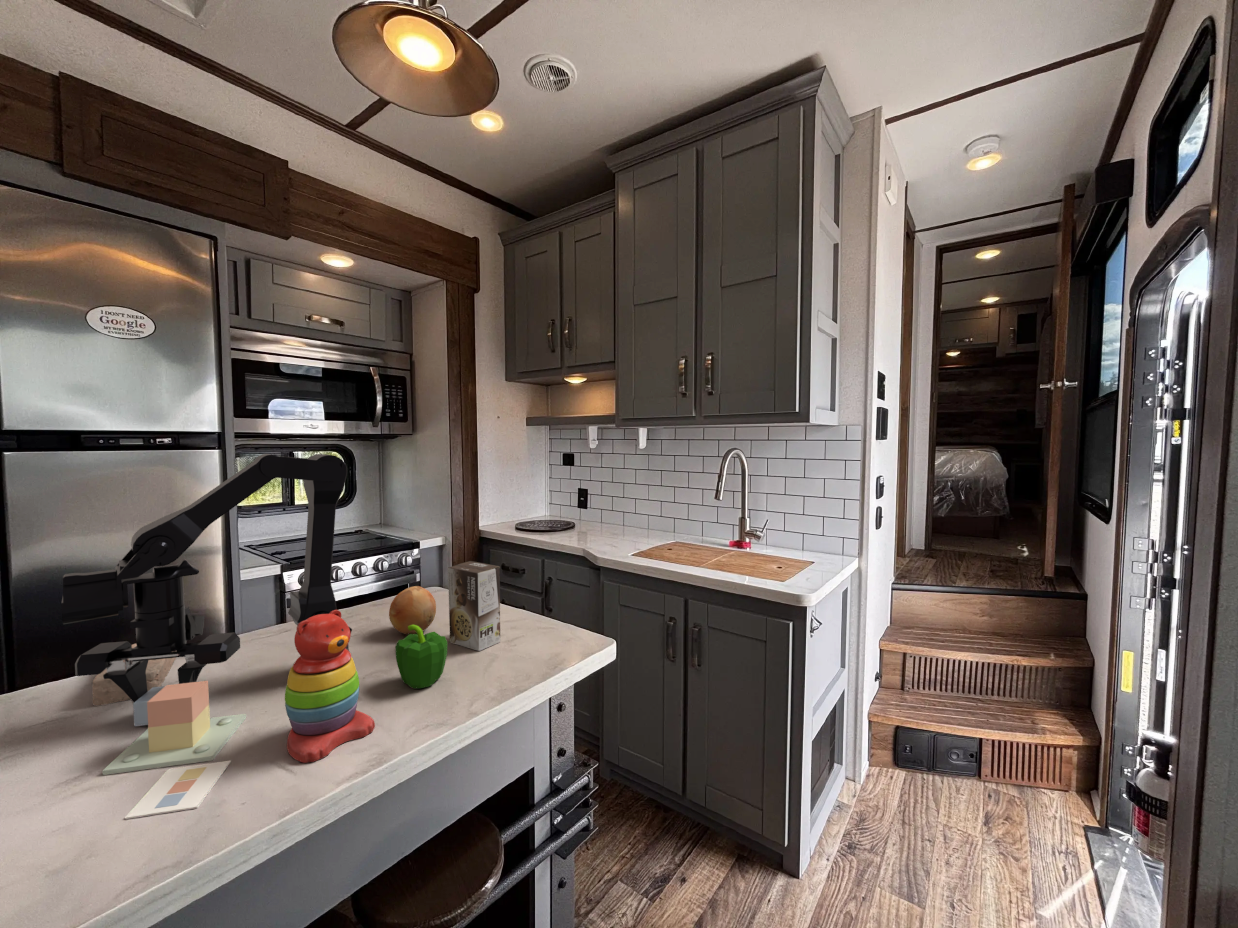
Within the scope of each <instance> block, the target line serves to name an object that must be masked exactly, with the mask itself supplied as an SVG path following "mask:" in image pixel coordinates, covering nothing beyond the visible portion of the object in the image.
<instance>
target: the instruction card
mask: <svg viewBox="0 0 1238 928" xmlns="http://www.w3.org/2000/svg"><path fill="white" fill-rule="evenodd" d="M231 763H232V760H225V761H218V762H217V761H216V762H209V763H204V764H203V763H200V764H195V765H188V766H180V767H173V768H168V769H167V770H166V771H165V772H164V773H163V774H162V776H160V778H159V779H158V780H157V781H156V782H155V783H154V785H152V786H151V788H150V789H149V790H148V791H147V793H145V795H143V797H142V798H140V800H139V801H138V802H137V804H135V806H134V807H133V808H132V809H131V810H130V811H129V812H128V813H127V814H126V815H125V817H124V820H131V819H137V818H142V817H150V816H155V815H162V814H163V815H164V814H168V813H174V812H175V813H176V812H182V811H187V810H194V809H199V806H200V805H201V804H202V803H203V801H204V800H205V799H206V798H207V796H208V795H209V793H210V791H211V790H212V789H213V787H214V786H215V784H216V783H217V782H218V781H219V779H220V778H221V777H222V775H223V773H224V772H226V769H227V768H228V767H229V765H230V764H231Z"/></svg>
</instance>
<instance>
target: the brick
mask: <svg viewBox="0 0 1238 928" xmlns="http://www.w3.org/2000/svg"><path fill="white" fill-rule="evenodd" d="M131 645H132V648H134V647H136V646H137V643H133V644H131ZM172 652H174V651H172ZM176 659H177V658H166V659H154V660H148V664H147V668H146V681H147V691H149V690H150V689H151V688H153V687H161V686H162V684H163V683H164V681H165V680H166V677H167V676H168V674H169V673H170V671H171V669H172V667H173V665H174V663H175V661H176ZM106 673H107V668H106V669H105V670H104V671H103V672H102V673H100V674H96V675H95V677H94V679H93V680H92V687H91V689H92V705H93V706H95V707H96V706H102V705H105V706H106V705H109V704H113V703H119V702H125V701H129V700H131V699H130V698H129V696H128V695H127V694H126V693H125V692H124V691H123V690H122V689H121V688H120V687H119V686H118V685H117V684H115V683H114V682H113V681H112V680H111V679H104V678H103V675H104V674H106ZM131 701H132V700H131Z"/></svg>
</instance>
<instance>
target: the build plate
mask: <svg viewBox="0 0 1238 928" xmlns="http://www.w3.org/2000/svg"><path fill="white" fill-rule="evenodd" d="M210 712H211V711H210V704H209V705H208V706H207V707H206V708H205V709H204V710H203V711H202V712H201V713H200V714H199V716H198V717H197V718H196V719H195V720H194V721H193V722H189V723H181V724H173V725H165V726H157V727H149V728H148V727H147V729H146V730H145V731H144V732H142V734H140V736H138V737H137V738H136V739H135V740H134V741H133V742H132V743H131V744H129V746H128V747H127V748H126V749H124V750H123V751H122V752H121V753H120V754H119V755H118V756H117V757H116V758H115V759H114V760H112V761H111V762H110V763H109V764H108V765H107V766H106V767H104V769H102V776H106V775H113V774H115V775H116V774H122V773H129V772H130V773H131V772H137V771H143V770H153V769H158V768H166V767H167V768H168V767H173V766H174V767H175V766H181V765H187V764H194V763H203V762H210V761H214V760H215V758H216V757H217V755H218V754H219V753H220V752H221V751H222V749H223V748H224V747H225V745H227V743H228V741H229V740H230V739H231V738H232V736H233V735H234V734H235V732H236V731H237V730H238V729H239V727H240V726H241V725H242V724H243V722H244V721H245V720H246V718H247V713H240V714H232V715H223V716H216V717H215V716H213V717H211V715H210V714H211V713H210Z"/></svg>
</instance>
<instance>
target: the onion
mask: <svg viewBox="0 0 1238 928" xmlns="http://www.w3.org/2000/svg"><path fill="white" fill-rule="evenodd" d="M436 613H437V603H436V599H435V597H434V595H433V594H432V593H431V592H430V591H429V590H428V589H426V588H424V587H422V586H419V585H415V586H413V585H412V586H409V587H407V588H405V589H404V590H402V591H400V592H399V593H398V594H396V596H395V597H394V598H393V600H392V601H391V603H390V606H389V611H388V618H389V621H390V623H391V625H392V627H393V628H394V629H396V630H397V631H398V632H399V633H401V634H404V635H409V634H417V632H416V631H415V630H412V631H410V630H409V629H408V626H410V625H417V626H419V627H420V628H421V629H422V631H423V632H424V631H425V630H427V629H428V627H429V626H430V625H431V624H432V623H433V622H434V619H435V616H436Z"/></svg>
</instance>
